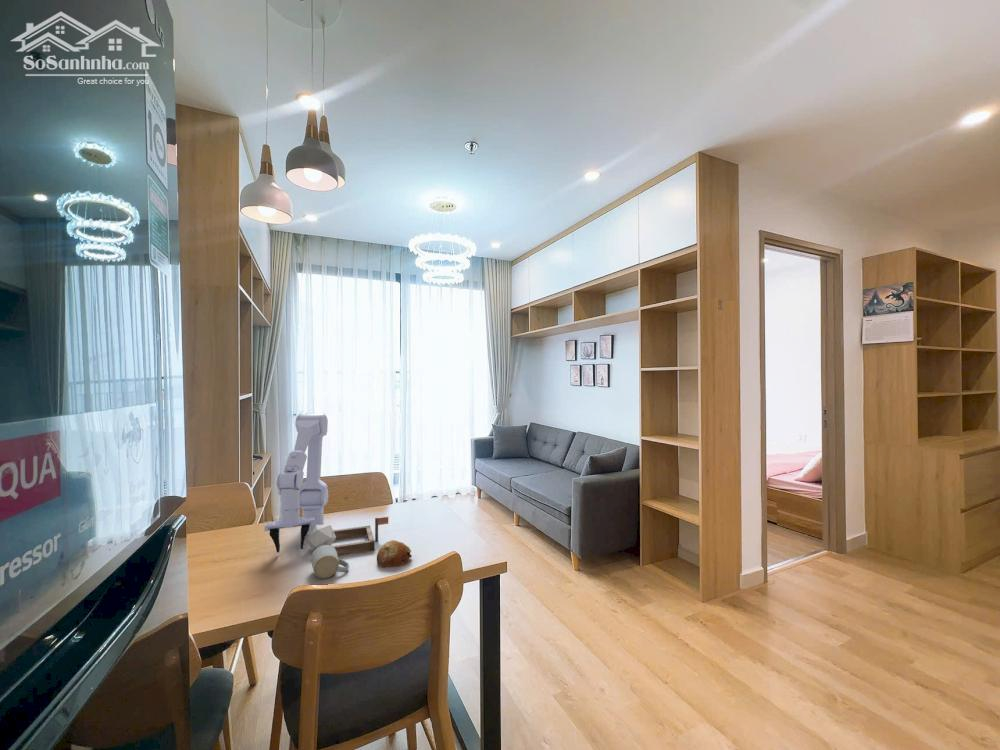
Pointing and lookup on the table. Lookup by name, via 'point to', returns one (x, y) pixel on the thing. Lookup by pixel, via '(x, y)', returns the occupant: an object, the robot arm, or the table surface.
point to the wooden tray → (357, 532)
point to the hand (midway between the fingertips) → (290, 549)
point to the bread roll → (393, 554)
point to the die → (320, 536)
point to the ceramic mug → (327, 562)
